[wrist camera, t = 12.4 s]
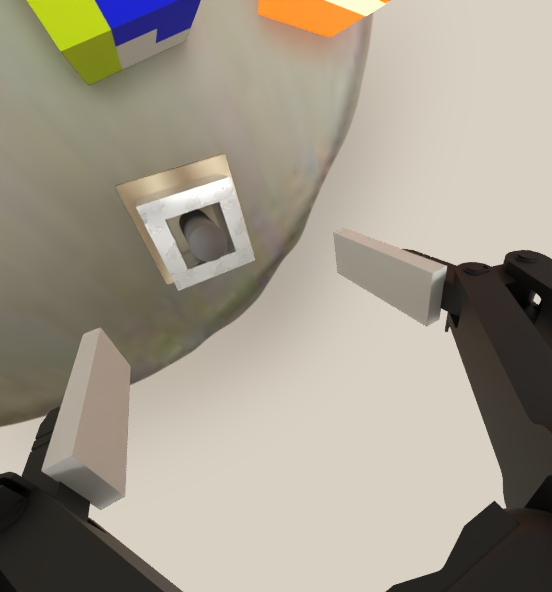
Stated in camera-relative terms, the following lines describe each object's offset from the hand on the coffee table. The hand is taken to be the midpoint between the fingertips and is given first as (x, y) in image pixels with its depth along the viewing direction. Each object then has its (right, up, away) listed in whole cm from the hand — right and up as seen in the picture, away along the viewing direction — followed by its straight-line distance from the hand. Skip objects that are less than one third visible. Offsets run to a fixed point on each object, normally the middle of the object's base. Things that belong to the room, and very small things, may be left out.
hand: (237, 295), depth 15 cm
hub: (-8, +8, +17) cm, 21 cm away
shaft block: (-8, +9, +18) cm, 22 cm away
